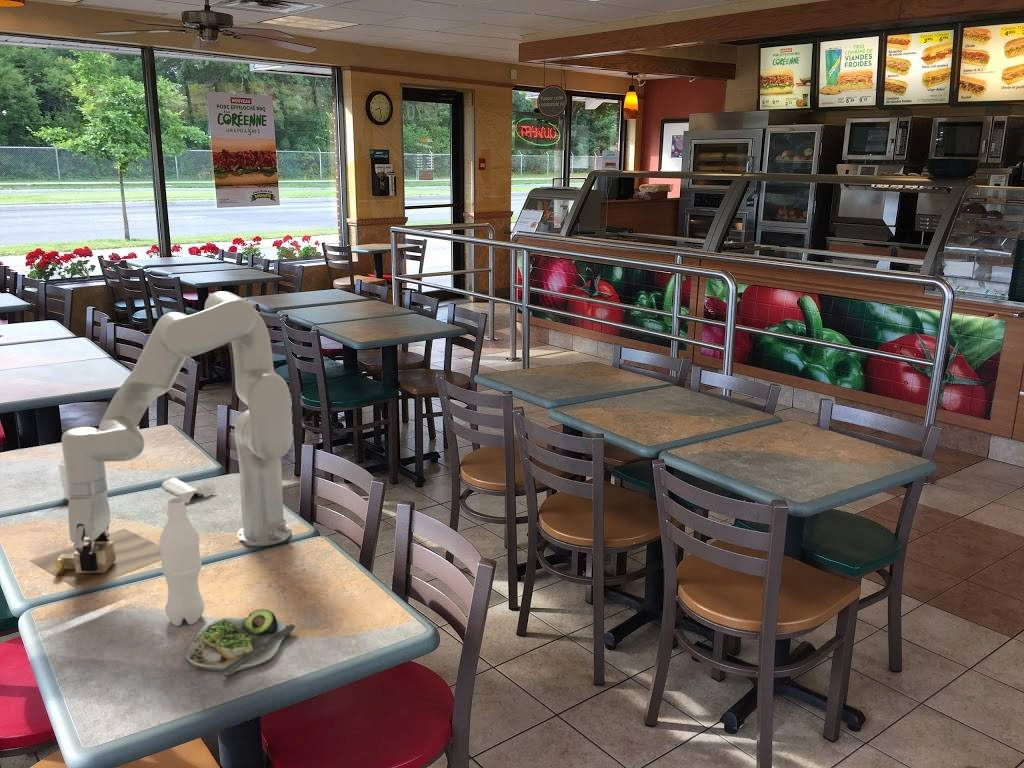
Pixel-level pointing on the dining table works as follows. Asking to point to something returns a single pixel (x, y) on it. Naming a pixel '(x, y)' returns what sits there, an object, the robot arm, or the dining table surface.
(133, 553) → the board
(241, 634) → the avocado toast plate
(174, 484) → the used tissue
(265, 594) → the dining table surface
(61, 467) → the white cup
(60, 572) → the dowel pin
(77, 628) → the dining table surface
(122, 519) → the dining table surface
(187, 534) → the water bottle
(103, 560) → the square frame with tab
